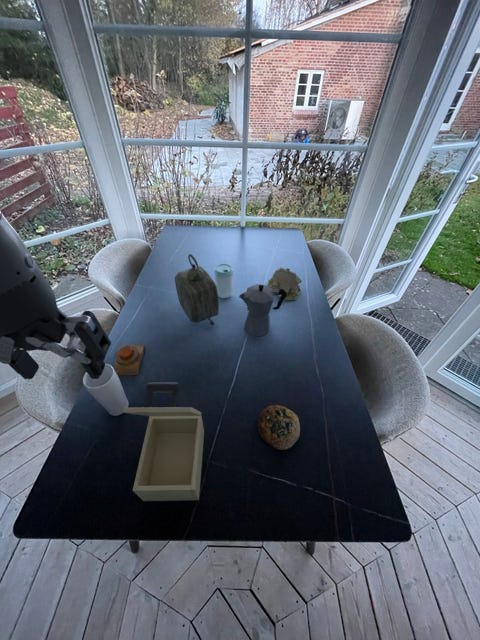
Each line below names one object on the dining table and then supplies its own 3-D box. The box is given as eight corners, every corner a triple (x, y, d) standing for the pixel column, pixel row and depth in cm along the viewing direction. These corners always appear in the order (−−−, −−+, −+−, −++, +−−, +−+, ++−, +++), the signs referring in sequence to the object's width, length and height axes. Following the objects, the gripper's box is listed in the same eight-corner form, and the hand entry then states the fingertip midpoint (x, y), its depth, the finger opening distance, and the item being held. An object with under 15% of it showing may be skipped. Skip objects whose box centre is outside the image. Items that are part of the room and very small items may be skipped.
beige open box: (198, 500, 56) (194, 489, 50) (143, 501, 56) (132, 490, 49) (204, 430, 66) (201, 415, 60) (157, 431, 66) (149, 415, 60)
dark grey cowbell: (219, 326, 92) (216, 264, 74) (195, 335, 88) (186, 273, 71) (202, 302, 100) (195, 241, 83) (179, 310, 97) (167, 249, 79)
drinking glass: (99, 416, 68) (75, 386, 57) (113, 393, 73) (92, 361, 62) (124, 421, 67) (104, 391, 57) (136, 397, 72) (119, 365, 61)
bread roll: (249, 416, 69) (252, 407, 65) (284, 403, 73) (290, 394, 70) (269, 459, 62) (274, 451, 59) (307, 442, 66) (314, 433, 63)
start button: (131, 359, 77) (130, 356, 76) (119, 359, 77) (117, 356, 76) (134, 350, 80) (133, 346, 78) (122, 350, 80) (121, 346, 78)
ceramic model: (306, 290, 107) (311, 269, 100) (291, 304, 101) (296, 283, 94) (276, 276, 113) (279, 256, 106) (261, 289, 107) (263, 268, 100)
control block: (137, 375, 77) (134, 368, 75) (113, 375, 77) (109, 368, 74) (145, 348, 84) (142, 341, 82) (123, 348, 84) (120, 341, 82)
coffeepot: (241, 339, 88) (242, 298, 75) (235, 319, 94) (236, 278, 81) (285, 333, 90) (294, 292, 77) (277, 314, 96) (284, 273, 84)
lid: (191, 412, 45) (193, 380, 47) (122, 412, 45) (127, 380, 47) (201, 416, 59) (202, 391, 62) (149, 416, 59) (152, 391, 61)
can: (235, 290, 106) (236, 265, 97) (228, 301, 101) (228, 275, 93) (219, 286, 107) (218, 260, 99) (212, 296, 103) (210, 270, 94)
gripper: (-137, 299, 21) (-7, 399, 32) (46, 299, 21) (110, 398, 33) (-63, 249, 26) (27, 351, 38) (83, 251, 27) (127, 351, 38)
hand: (66, 373), depth 35 cm, fingers open, 8 cm apart
